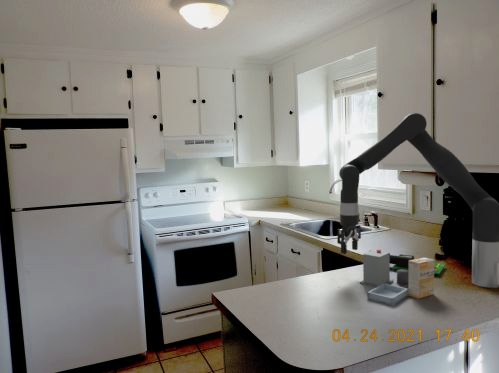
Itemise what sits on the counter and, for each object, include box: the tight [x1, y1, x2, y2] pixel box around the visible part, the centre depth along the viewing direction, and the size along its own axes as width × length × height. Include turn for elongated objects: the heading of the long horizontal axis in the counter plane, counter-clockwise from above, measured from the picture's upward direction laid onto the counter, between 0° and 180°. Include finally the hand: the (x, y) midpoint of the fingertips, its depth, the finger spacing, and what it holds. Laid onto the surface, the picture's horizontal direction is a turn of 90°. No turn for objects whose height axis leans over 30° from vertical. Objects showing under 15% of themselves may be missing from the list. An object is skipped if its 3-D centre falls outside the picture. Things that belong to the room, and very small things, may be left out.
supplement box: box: [407, 257, 435, 300], centre depth 144 cm, size 8×5×13 cm, turn 118°
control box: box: [359, 249, 394, 288], centre depth 158 cm, size 9×10×13 cm
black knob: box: [396, 269, 409, 286], centre depth 157 cm, size 4×4×5 cm
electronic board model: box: [368, 249, 446, 275], centre depth 178 cm, size 30×7×15 cm
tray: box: [366, 283, 409, 306], centre depth 143 cm, size 9×12×2 cm
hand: (349, 251), depth 167 cm, fingers open, 8 cm apart
